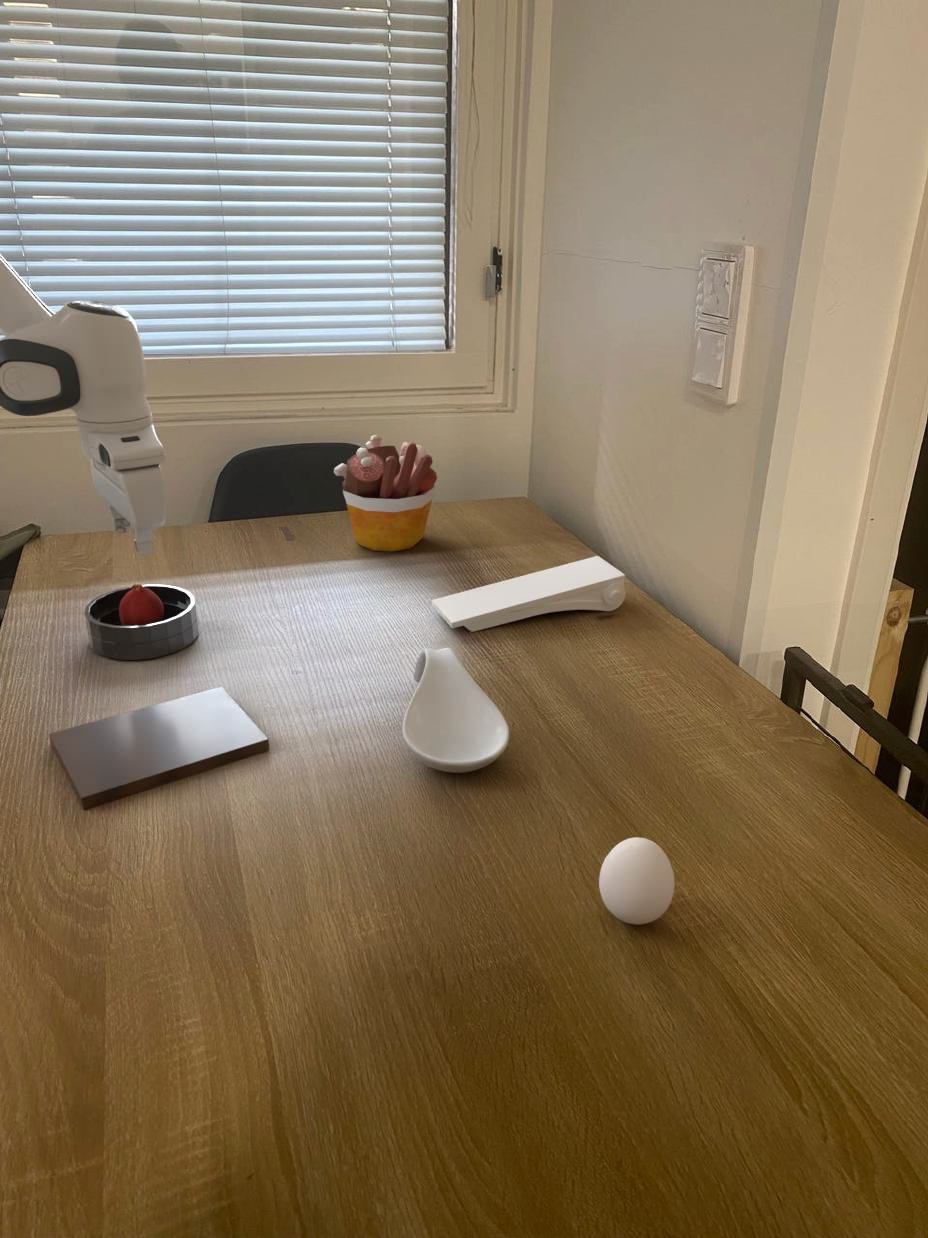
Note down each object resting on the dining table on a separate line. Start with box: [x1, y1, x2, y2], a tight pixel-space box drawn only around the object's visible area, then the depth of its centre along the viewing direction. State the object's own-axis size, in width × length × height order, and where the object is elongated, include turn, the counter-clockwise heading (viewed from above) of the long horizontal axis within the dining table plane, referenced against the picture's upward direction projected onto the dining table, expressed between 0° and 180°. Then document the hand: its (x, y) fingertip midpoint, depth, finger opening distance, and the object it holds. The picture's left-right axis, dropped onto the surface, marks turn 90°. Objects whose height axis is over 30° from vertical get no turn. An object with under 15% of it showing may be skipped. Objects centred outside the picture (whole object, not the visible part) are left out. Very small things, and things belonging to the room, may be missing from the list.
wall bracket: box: [431, 555, 627, 633], centre depth 137 cm, size 10×7×28 cm
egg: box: [598, 836, 676, 926], centre depth 78 cm, size 6×6×8 cm
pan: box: [84, 584, 199, 661], centre depth 125 cm, size 14×14×5 cm
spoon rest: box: [401, 647, 510, 774], centre depth 105 cm, size 24×12×7 cm, turn 11°
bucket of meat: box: [333, 434, 438, 552], centre depth 158 cm, size 20×16×20 cm
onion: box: [119, 582, 164, 626], centre depth 124 cm, size 6×6×8 cm
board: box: [48, 686, 270, 811], centre depth 101 cm, size 20×14×2 cm
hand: (133, 541), depth 120 cm, fingers open, 8 cm apart
